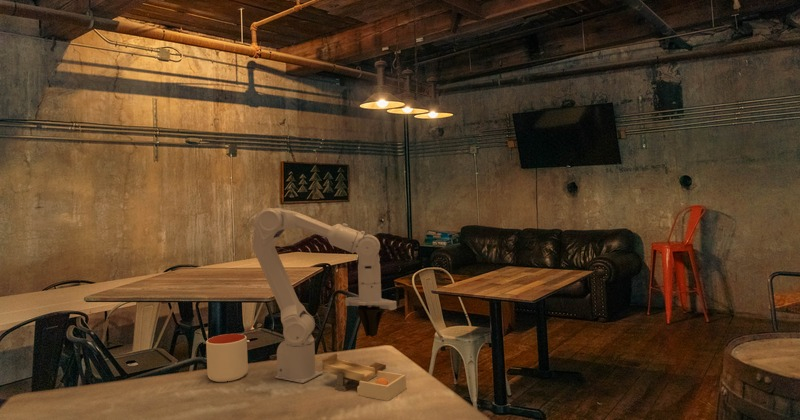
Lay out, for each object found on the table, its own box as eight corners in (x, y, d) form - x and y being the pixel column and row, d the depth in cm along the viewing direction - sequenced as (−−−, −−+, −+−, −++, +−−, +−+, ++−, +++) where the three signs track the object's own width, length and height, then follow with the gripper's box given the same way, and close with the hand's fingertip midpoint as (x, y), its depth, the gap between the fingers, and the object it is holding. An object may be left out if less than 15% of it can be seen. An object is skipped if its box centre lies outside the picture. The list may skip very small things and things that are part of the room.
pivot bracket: (335, 389, 120) (334, 372, 120) (352, 379, 126) (351, 363, 126) (345, 391, 119) (344, 374, 119) (362, 381, 125) (361, 365, 125)
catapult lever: (322, 371, 123) (322, 359, 123) (346, 359, 132) (346, 347, 132) (363, 382, 117) (363, 369, 117) (385, 368, 126) (386, 357, 126)
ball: (386, 386, 116) (380, 395, 116) (393, 382, 118) (387, 391, 119) (377, 377, 117) (371, 386, 118) (383, 373, 119) (378, 382, 120)
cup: (235, 384, 126) (234, 344, 126) (199, 382, 128) (198, 343, 128) (255, 370, 136) (253, 333, 136) (221, 369, 138) (219, 333, 138)
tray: (357, 395, 116) (357, 381, 116) (376, 383, 124) (376, 370, 123) (388, 400, 112) (387, 386, 112) (406, 388, 119) (405, 374, 119)
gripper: (337, 283, 130) (339, 336, 130) (385, 286, 122) (387, 342, 122) (353, 279, 136) (355, 329, 136) (400, 282, 128) (401, 335, 128)
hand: (371, 335), depth 130 cm, fingers closed
